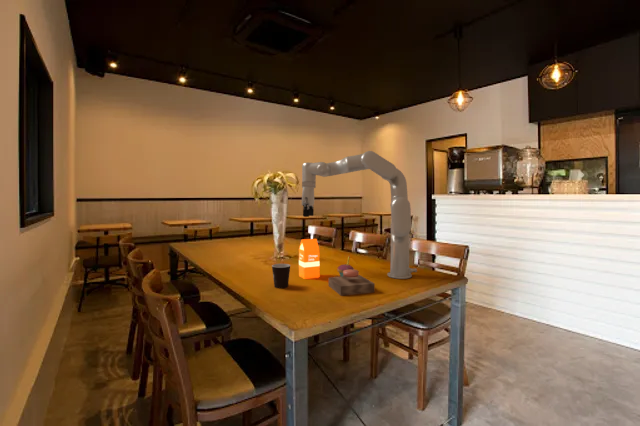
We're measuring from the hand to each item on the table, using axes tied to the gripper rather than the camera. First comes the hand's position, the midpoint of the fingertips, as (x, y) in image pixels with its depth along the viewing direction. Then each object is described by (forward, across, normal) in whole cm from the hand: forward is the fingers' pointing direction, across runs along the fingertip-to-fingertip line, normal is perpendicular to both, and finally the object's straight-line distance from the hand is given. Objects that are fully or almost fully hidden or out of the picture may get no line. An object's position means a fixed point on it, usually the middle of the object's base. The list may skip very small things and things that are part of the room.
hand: (308, 216), depth 180 cm
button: (+25, +27, +28) cm, 46 cm away
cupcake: (+31, +8, +23) cm, 40 cm away
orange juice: (+32, +9, +3) cm, 33 cm away
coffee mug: (+32, +29, -5) cm, 43 cm away
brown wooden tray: (+31, +27, +28) cm, 50 cm away
